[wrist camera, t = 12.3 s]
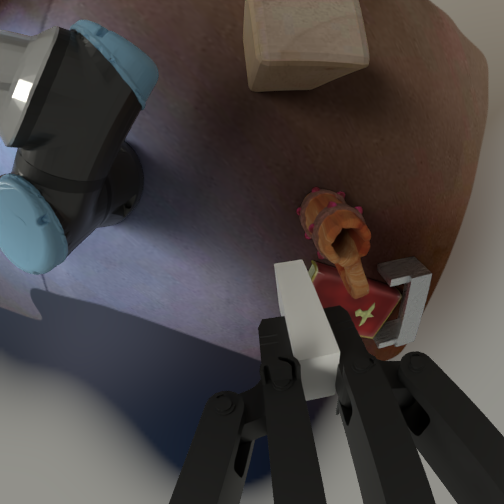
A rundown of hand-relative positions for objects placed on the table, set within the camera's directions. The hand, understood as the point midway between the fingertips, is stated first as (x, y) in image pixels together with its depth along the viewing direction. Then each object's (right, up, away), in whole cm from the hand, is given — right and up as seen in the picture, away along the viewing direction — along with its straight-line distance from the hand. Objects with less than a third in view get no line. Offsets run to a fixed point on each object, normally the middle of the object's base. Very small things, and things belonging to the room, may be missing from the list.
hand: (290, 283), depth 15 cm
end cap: (+28, -8, +38) cm, 48 cm away
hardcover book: (+16, -7, +38) cm, 42 cm away
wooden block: (+2, +30, +18) cm, 35 cm away
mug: (+10, +7, +30) cm, 33 cm away
